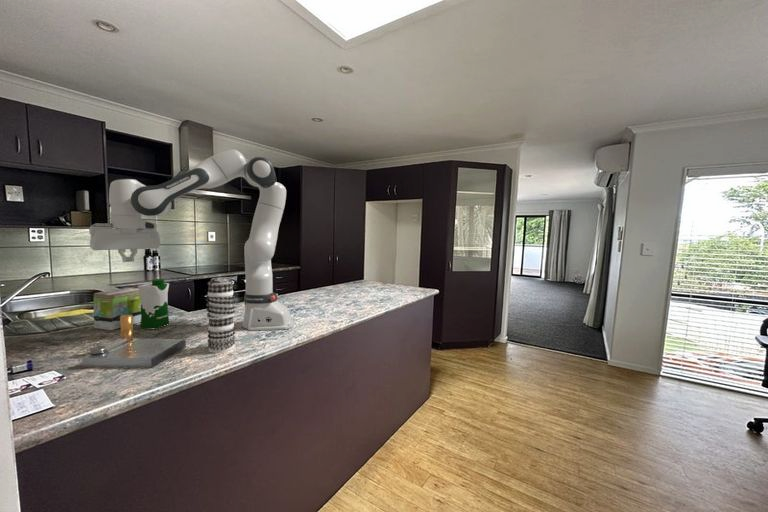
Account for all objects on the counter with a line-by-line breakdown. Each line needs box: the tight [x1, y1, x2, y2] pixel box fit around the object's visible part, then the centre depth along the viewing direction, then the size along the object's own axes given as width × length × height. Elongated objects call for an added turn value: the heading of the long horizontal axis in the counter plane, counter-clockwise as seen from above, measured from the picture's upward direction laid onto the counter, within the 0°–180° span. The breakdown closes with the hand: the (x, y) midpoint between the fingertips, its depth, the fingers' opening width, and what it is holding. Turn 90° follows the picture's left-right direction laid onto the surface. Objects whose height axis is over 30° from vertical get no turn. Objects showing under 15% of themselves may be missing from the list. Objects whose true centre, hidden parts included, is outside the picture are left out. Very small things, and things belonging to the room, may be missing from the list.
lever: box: [89, 315, 134, 355], centre depth 98 cm, size 14×4×8 cm, turn 2°
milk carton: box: [137, 278, 170, 330], centre depth 129 cm, size 9×9×20 cm
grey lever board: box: [81, 338, 187, 369], centre depth 100 cm, size 21×16×3 cm
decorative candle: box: [205, 276, 236, 354], centre depth 108 cm, size 9×9×25 cm
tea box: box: [93, 287, 141, 331], centre depth 131 cm, size 15×10×15 cm, turn 168°
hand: (128, 261), depth 113 cm, fingers closed
